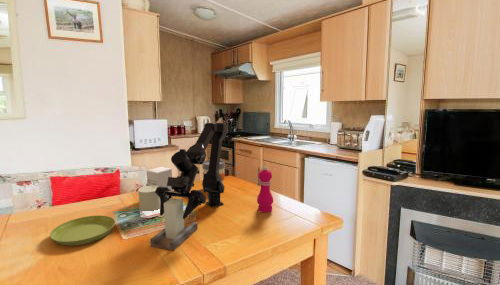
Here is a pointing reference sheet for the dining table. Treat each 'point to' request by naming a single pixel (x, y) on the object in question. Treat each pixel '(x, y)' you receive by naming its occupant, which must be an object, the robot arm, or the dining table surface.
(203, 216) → the dining table surface
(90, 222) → the saucer
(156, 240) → the floor track
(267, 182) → the pepper mill
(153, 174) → the supplement box
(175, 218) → the white rectangular block
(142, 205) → the can
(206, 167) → the reusable coffee cup
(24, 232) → the dining table surface
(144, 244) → the dining table surface
